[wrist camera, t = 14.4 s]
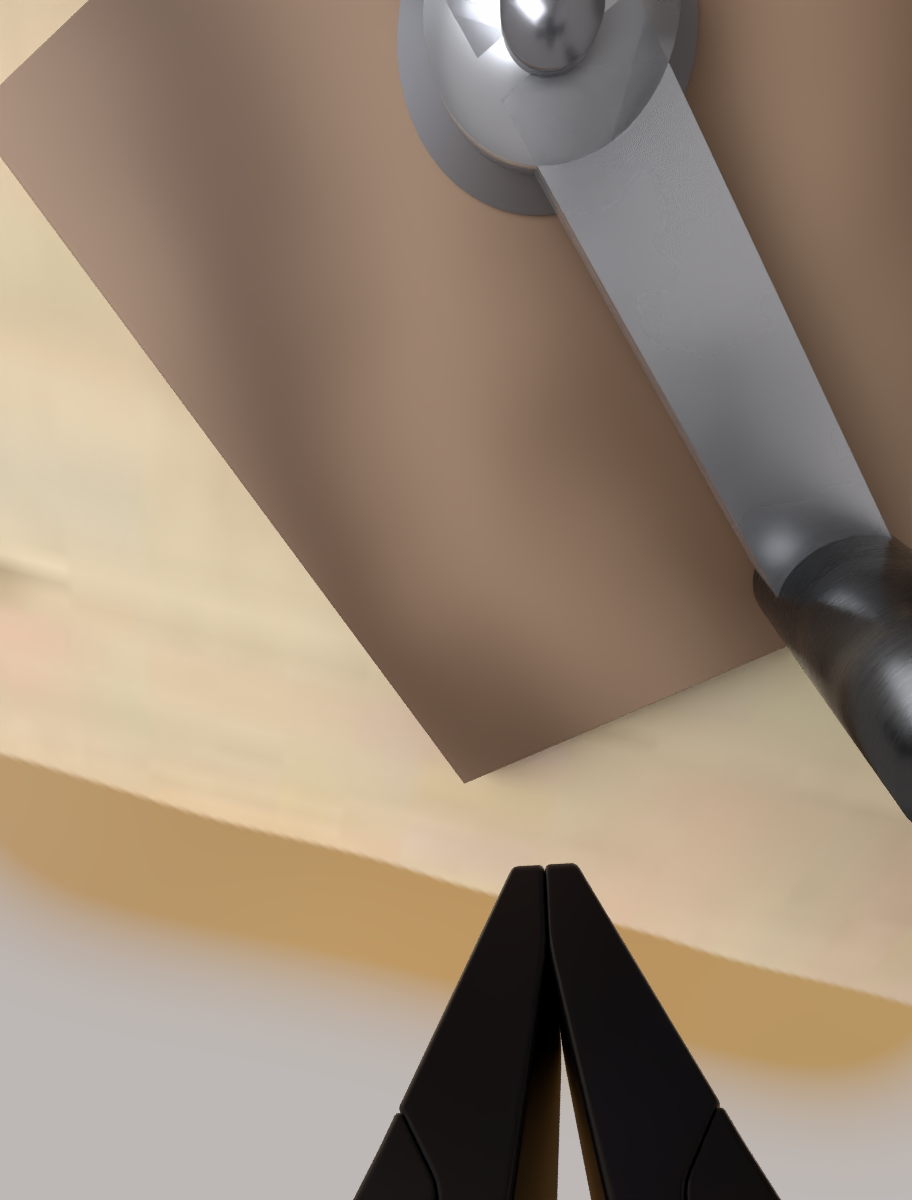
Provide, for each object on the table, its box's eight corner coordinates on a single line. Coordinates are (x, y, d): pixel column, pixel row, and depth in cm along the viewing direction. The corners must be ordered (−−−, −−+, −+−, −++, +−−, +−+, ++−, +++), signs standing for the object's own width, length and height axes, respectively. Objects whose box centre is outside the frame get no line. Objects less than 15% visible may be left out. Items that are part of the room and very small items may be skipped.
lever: (459, -456, 9) (381, -1575, 4) (933, 582, 15) (1187, 781, 9) (253, -221, 10) (-58, -791, 5) (768, 661, 16) (908, 882, 10)
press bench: (1292, -1075, 8) (2167, -2556, 4) (1387, 355, 14) (1759, 399, 9) (5, 123, 13) (-212, 69, 9) (466, 758, 19) (455, 892, 15)
